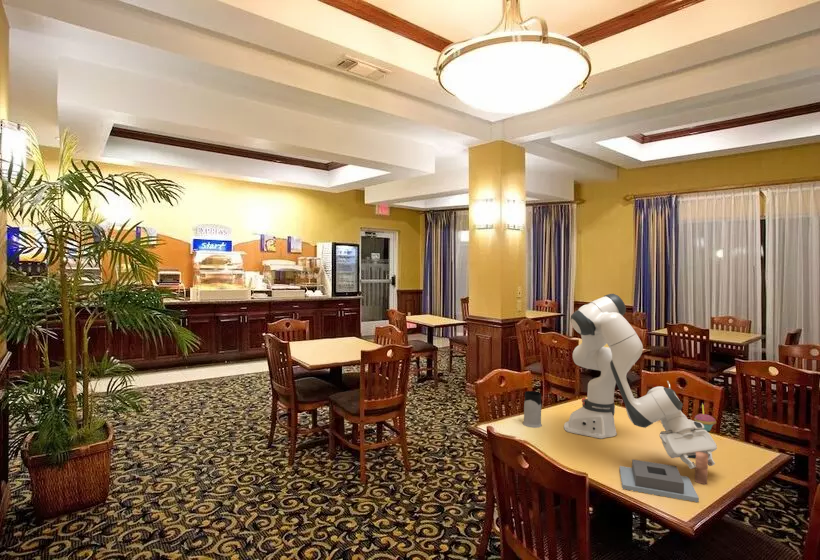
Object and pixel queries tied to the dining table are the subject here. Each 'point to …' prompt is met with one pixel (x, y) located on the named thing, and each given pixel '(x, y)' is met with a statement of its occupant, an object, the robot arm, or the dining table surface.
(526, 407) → the glass holder
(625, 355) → the robot arm
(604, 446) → the dining table surface
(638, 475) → the tool stand
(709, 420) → the cupcake
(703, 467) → the brown upright cylinder
